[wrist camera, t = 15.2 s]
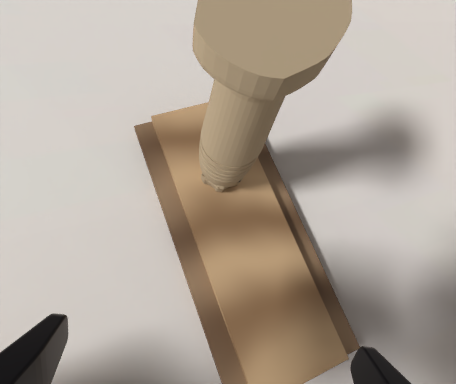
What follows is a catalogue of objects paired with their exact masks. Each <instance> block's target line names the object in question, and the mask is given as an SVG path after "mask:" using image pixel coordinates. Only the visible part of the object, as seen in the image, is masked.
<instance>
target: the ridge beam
mask: <svg viewBox="0 0 456 384" xmlns="http://www.w3.org/2000/svg"><path fill="white" fill-rule="evenodd" d="M208 103H209V102H208ZM208 103H204V104H200V105H195V106H191V107H187V108H183V109H179V110H175V111H171V112H167V113H162V114H158V115H154V116H151V118H152V122H148V123H144V124H140V125H136V126H134V128H135V132H136V135H137V137H138V140H139V143H140V146H141V149H142V152H143V155H144V158H145V161H146V164H147V167H148V169H149V172H150V175H151V178H152V181H153V184H154V187H155V190H156V193H157V196H158V199H159V202H160V204H161V207H162V210H163V213H164V216H165V219H166V222H167V225H168V228H169V231H170V234H171V236H172V239H173V242H174V245H175V248H176V251H177V254H178V257H179V260H180V263H181V266H182V269H183V271H184V274H185V277H186V280H187V283H188V286H189V289H190V292H191V295H192V298H193V301H194V303H195V306H196V309H197V312H198V315H199V318H200V321H201V324H202V327H203V330H204V333H205V336H206V338H207V341H208V344H209V347H210V350H211V353H212V356H213V359H214V362H215V365H216V368H217V370H218V373H219V376H220V379H221V382H222V384H303V383H305V382H307V381H309V380H311V379H312V378H314V377H316V376H318V375H320V374H322V373H324V372H325V371H327V370H329V369H331V368H333V367H335V366H337V365H338V364H340V363H342V362H344V361H346V360H348V359H349V358H348V356H347V355H348V354H349V353H351V352H353V351H355V350H357V349H359V348H360V346H359V344H358V342H357V340H356V338H355V336H354V334H353V331H352V329H351V327H350V325H349V323H348V321H347V318H346V316H345V314H344V312H343V310H342V308H341V306H340V303H339V301H338V299H337V297H336V295H335V293H334V291H333V288H332V286H331V284H330V282H329V280H328V278H327V276H326V273H325V271H324V269H323V267H322V265H321V263H320V260H319V258H318V256H317V254H316V252H315V250H314V248H313V245H312V243H311V241H310V239H309V237H308V235H307V233H306V230H305V228H304V226H303V224H302V222H301V220H300V218H299V215H298V213H297V211H296V209H295V207H294V205H293V202H292V200H291V198H290V196H289V194H288V192H287V190H286V187H285V185H284V183H283V181H282V179H281V177H280V175H279V172H278V170H277V168H276V166H275V164H274V162H273V159H272V157H271V155H270V153H269V151H268V149H267V147H266V144H264V147H263V149H262V151H261V153H260V154H259V156H258V158H257V159H256V161H255V163H254V164H253V166H252V167H251V169H250V170H249V171H248V173H247V174H246V175H245V176H244V177H243V179H242V180H241V181H240V183H239V184H238V185H236V186H231V187H228V188H226V189H224V190H223V191H222V192H216V191H215V189H214V188H213V187H212V186H210V185H207V184H204V183H203V181H202V179H201V174H202V171H201V167H200V162H199V144H200V135H201V130H202V126H203V122H204V118H205V114H206V110H207V107H208Z"/></svg>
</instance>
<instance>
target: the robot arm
mask: <svg viewBox="0 0 456 384" xmlns="http://www.w3.org/2000/svg"><path fill="white" fill-rule="evenodd" d="M67 339H68V318H67V316H66V315H64V314H51V315H49V316H48V317H46V318H45V319H44V320H42V321H41V322H40V323H38V324H37V325H36V326H34V327H33V328H32V329H31V330H29V331H28V332H27V333H25V334H24V335H23V336H21V337H20V338H19V339H17V340H16V341H15V342H13V343H12V344H11V345H10V346H8V347H7V348H6V349H4V350H3V351H2V352H0V384H51V382H52V379H53V377H54V374H55V372H56V369H57V366H58V364H59V361H60V359H61V356H62V353H63V351H64V348H65V346H66V343H67ZM351 374H352V378H353V382H354V384H411V383H410V382H409V381H408V380H407V379H406V378H405V377H404V376H403V375H402V374H401V373H400V372H399V371H398V370H397V369H395V368H394V367H393V366H392V365H391V364H390V363H389V362H388V361H387V360H386V359H385V358H384V357H383V356H382V355H381V354H380V353H379V352H378V351H377V350H376V349H374V348H372V347H365V346H361V347H360V348H359V349H358V351H357V352H356V354H355V356H354V358H353V360H352V362H351Z"/></svg>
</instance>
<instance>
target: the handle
mask: <svg viewBox="0 0 456 384" xmlns="http://www.w3.org/2000/svg"><path fill="white" fill-rule="evenodd" d="M351 15H352V0H198V3H197V8H196V14H195V20H194V29H193V52H194V54H195V56H196V58H197V60H198V61H199V63H200V64H201V66H202V67H203V69H204V70H205V71H206V72H207V73H208V74H209V75H210V76H212V77H213V78H214V83H213V87H212V91H211V95H210V99H209V103H208V107H207V110H206V114H205V118H204V122H203V126H202V130H201V135H200V144H199V162H200V167H201V171H202V174H201V179H202V181H203V183H204V184H207V185H210V186H212V187H213V188H214V189H215V191H216V192H222V191H223V190H224V189H226V188H228V187H231V186H236V185H238V184H239V183H240V181H241V180H242V179H243V177H244V176H245V175H246V174H247V173H248V171H249V170H250V169H251V167H252V166H253V164H254V163H255V161H256V159H257V158H258V156H259V154H260V153H261V151H262V149H263V147H264V144H265V142H266V139H267V137H268V135H269V132H270V130H271V128H272V125H273V123H274V121H275V118H276V116H277V114H278V111H279V109H280V107H281V105H282V102H283V100H284V98H285V96H286V95H288V94H291V93H292V92H294V91H296V90H298V89H300V88H301V87H303V86H305V85H306V84H308V83H309V82H311V81H312V80H313V79H315V78H316V77H317V75H318V74H319V73H320V71H321V70H322V68H323V67H324V65H325V64H326V62H327V61H328V59H329V57H330V56H331V54H332V53H333V51H334V50H335V48H336V46H337V45H338V43H339V42H340V40H341V38H342V37H343V35H344V34H345V32H346V30H347V28H348V26H349V24H350V22H351Z"/></svg>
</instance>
